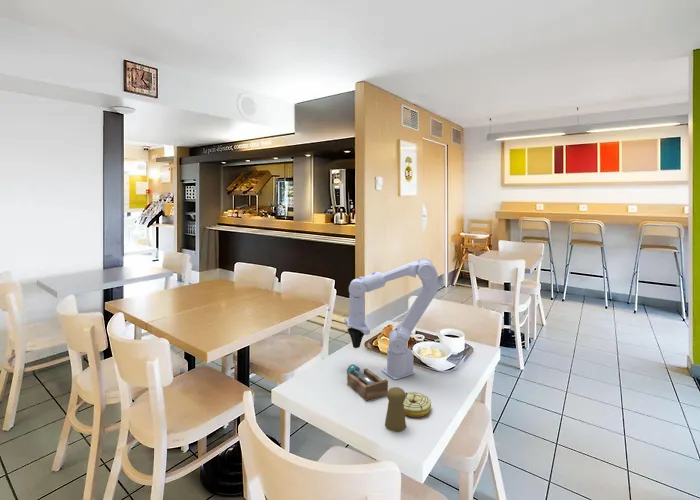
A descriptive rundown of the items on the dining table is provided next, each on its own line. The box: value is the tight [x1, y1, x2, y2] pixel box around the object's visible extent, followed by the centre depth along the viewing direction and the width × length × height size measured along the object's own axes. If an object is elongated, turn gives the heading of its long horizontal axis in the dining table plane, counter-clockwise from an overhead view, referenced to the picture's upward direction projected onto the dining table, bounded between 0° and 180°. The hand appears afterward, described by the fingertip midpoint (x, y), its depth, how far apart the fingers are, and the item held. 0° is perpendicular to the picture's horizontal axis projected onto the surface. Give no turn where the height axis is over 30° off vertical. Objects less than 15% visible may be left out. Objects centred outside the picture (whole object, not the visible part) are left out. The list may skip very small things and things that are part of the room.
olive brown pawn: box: [384, 386, 407, 433], centre depth 108 cm, size 6×6×11 cm
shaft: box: [346, 364, 375, 385], centre depth 130 cm, size 14×4×4 cm, turn 31°
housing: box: [346, 368, 389, 403], centre depth 128 cm, size 13×8×5 cm, turn 31°
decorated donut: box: [403, 391, 432, 418], centre depth 117 cm, size 10×11×4 cm
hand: (356, 347), depth 140 cm, fingers closed
